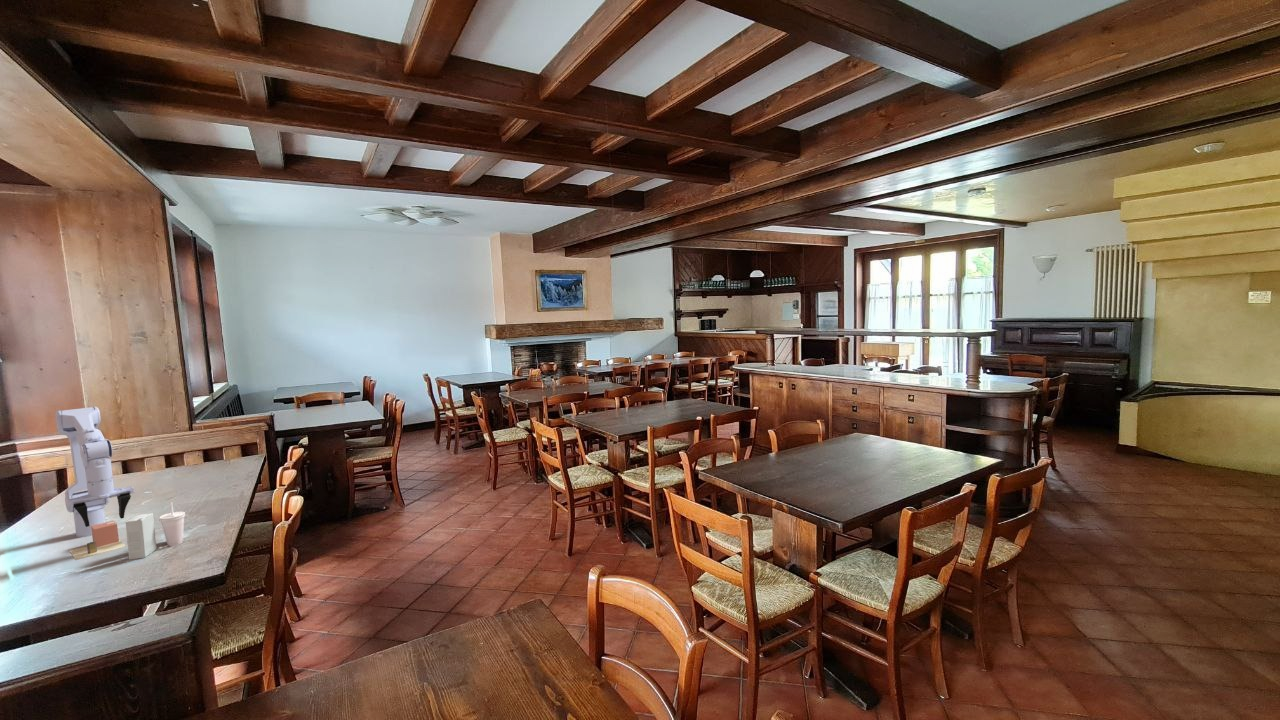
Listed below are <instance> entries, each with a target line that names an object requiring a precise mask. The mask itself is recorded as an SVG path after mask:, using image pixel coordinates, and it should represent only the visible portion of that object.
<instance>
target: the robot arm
mask: <svg viewBox="0 0 1280 720" xmlns="http://www.w3.org/2000/svg"><path fill="white" fill-rule="evenodd" d="M54 416H55V425H56V431H57V432H58V435H61V436H66V438H67V440H68V441H69V446H70V452H71V461H72V467H73V468H72V469H73V473H74V481H75V482H74V483H73V484H72V485H70V486H69V487H67V488H66V489H65V492H64V504H65V508H66V510H67V512H68V513H72V514H73V519H74V529H75V532H73V533H72V534H71V535H72V536H74V535H75V537H77V538H84V537H90V536H92V530H91V526H93V525H97V524H101V523H106V522H107V521H106V513H105V507H106V506H107V505H108V504H109V503H110V498H114V497H116V498H117V503H118V516H119V519H124V518H125V513H126V509H127V506H128V504H129V502H130V500H131V497H132V496H131V494H132V495H133V494H135V493H136V492H135V487H134V486H127V487H120V488H115V483H114V476H113V468H112V467H113V466H112V458H113V454H114V453H113V451H114V450H113V445H112V442H111V441H110V439H108V438H105V437H104V435H103V433H102V431H101V430H100V429H98V428H99V425H100V424H101V420H102V419H101V418H102V417H101V411H100V409H99V407H97V406H96V405H95V406H90V407H82V408H75V409H65V410H64V409H63V410H56V412H55V414H54Z"/></svg>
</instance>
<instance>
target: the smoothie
mask: <svg viewBox="0 0 1280 720" xmlns="http://www.w3.org/2000/svg"><path fill="white" fill-rule="evenodd" d="M169 506H170V512H169V513H165V514H162V515H160V516H159V517H158V520H159V522H160V524H161V527H162V531H163V534H164V538H165V542H166V544H167V547H175V546H178V545H181V544H182V543H183V542H184V525H185V517H186V512H185V511H174V507H173V501H170V502H169Z"/></svg>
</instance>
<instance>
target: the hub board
mask: <svg viewBox="0 0 1280 720" xmlns="http://www.w3.org/2000/svg"><path fill="white" fill-rule="evenodd" d="M122 548H127V545H126V544H124V543H123V542H122V541H121V540H120V539H119V542H116V543H112V544H108V545H104V546H101V547H97V546H96V542H93V541H91V542H88V543H86V544H85V545H82V546H78V547H74V548H71V549H68V551H69V552H70V554H71V556H73V558H74V560H75V561H78V560H82V559H85V558H88V557H92V556H97V555H100V554H104V553H108V552H111V551H115V550H118V549H122Z"/></svg>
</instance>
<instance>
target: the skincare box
mask: <svg viewBox="0 0 1280 720" xmlns="http://www.w3.org/2000/svg"><path fill="white" fill-rule="evenodd" d="M154 518H155V517H154V513H152V512H151V513H142V514H137V515H136V516H133V517H132V518H130V519H129V520H127V521H125V528H126V529H125V530H126V531H125V532H126V540H127V541H126V542H127V552H128V559H129V560H138V559H142V558H143V559H144V558H147V557H148V556H150V555H151V554H152V553H154V552H155V551H156V550H157V549H158V548H157V540H156V529H155V520H154Z"/></svg>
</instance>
